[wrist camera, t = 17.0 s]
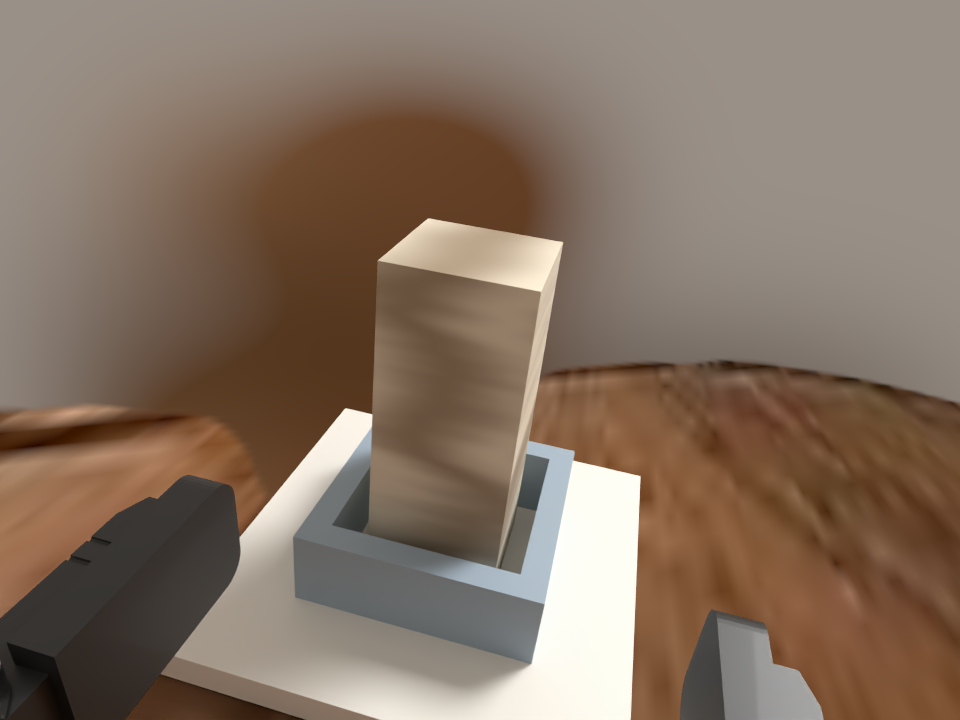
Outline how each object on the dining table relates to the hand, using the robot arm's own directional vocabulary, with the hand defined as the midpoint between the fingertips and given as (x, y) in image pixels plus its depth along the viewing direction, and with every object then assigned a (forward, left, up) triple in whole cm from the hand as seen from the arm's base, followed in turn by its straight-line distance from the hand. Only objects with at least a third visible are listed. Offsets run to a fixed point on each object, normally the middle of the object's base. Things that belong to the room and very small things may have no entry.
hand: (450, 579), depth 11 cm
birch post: (-5, -12, -12) cm, 17 cm away
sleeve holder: (-5, -12, -13) cm, 18 cm away
